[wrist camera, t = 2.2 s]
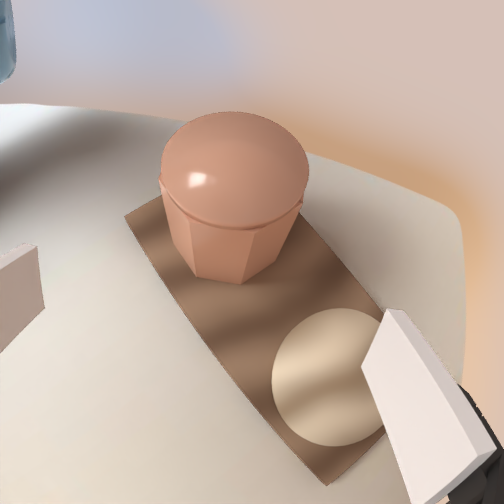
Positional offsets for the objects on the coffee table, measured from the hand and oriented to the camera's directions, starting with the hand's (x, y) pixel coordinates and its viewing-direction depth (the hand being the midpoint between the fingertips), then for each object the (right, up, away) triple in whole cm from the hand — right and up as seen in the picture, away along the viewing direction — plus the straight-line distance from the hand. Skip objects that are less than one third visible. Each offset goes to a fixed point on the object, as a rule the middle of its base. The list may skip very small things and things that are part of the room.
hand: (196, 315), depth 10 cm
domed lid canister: (0, +4, +17) cm, 18 cm away
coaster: (+9, -8, +13) cm, 18 cm away
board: (+4, -3, +16) cm, 17 cm away
